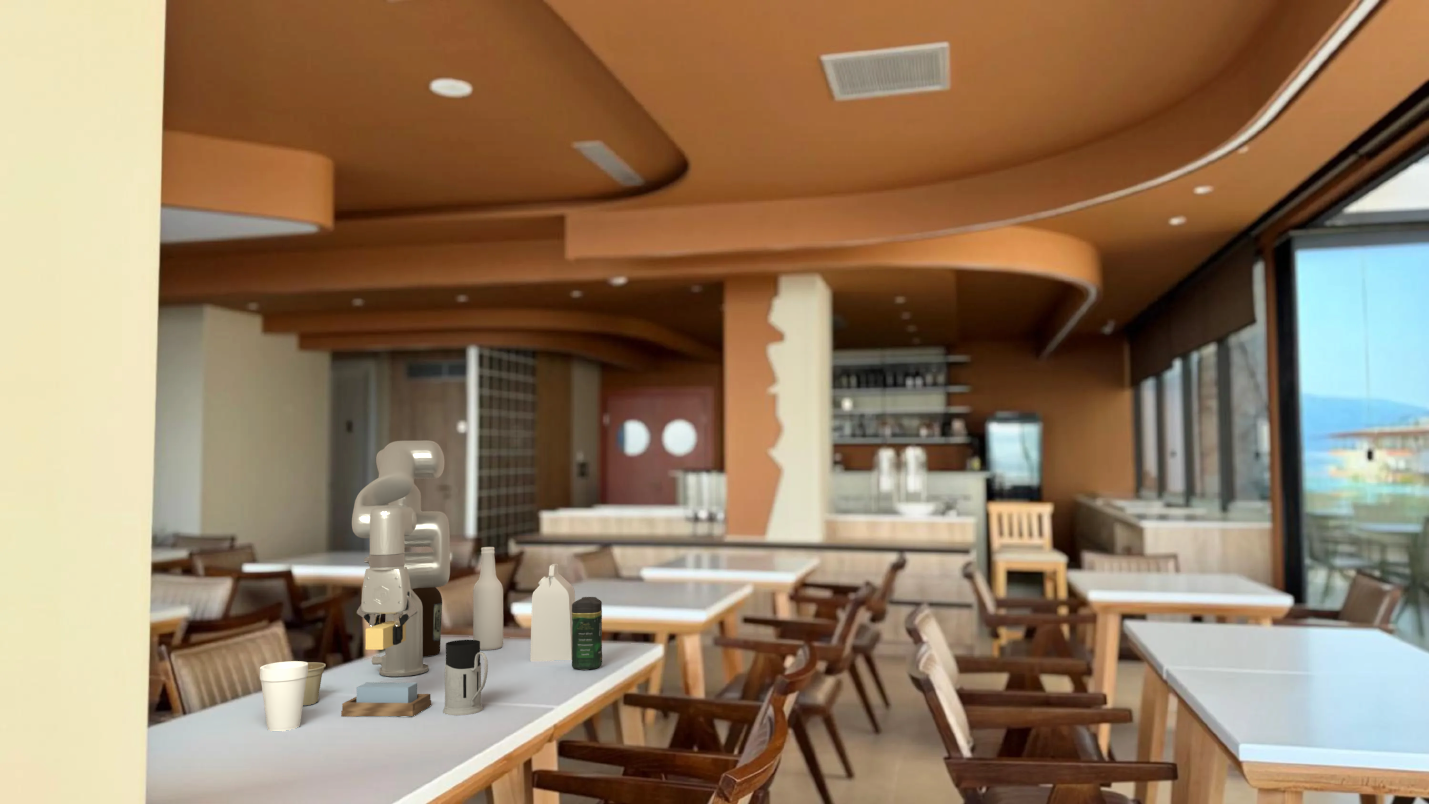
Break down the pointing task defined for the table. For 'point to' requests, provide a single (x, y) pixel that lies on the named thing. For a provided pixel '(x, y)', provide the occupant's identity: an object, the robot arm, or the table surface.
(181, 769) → the table surface
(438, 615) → the olive oil
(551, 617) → the milk
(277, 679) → the foam cup
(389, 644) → the mustard wooden brick
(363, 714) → the cradle
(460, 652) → the glass holder
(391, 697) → the pale grey-blue block
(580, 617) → the coffee jar
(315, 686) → the flower pot
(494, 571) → the alcohol
